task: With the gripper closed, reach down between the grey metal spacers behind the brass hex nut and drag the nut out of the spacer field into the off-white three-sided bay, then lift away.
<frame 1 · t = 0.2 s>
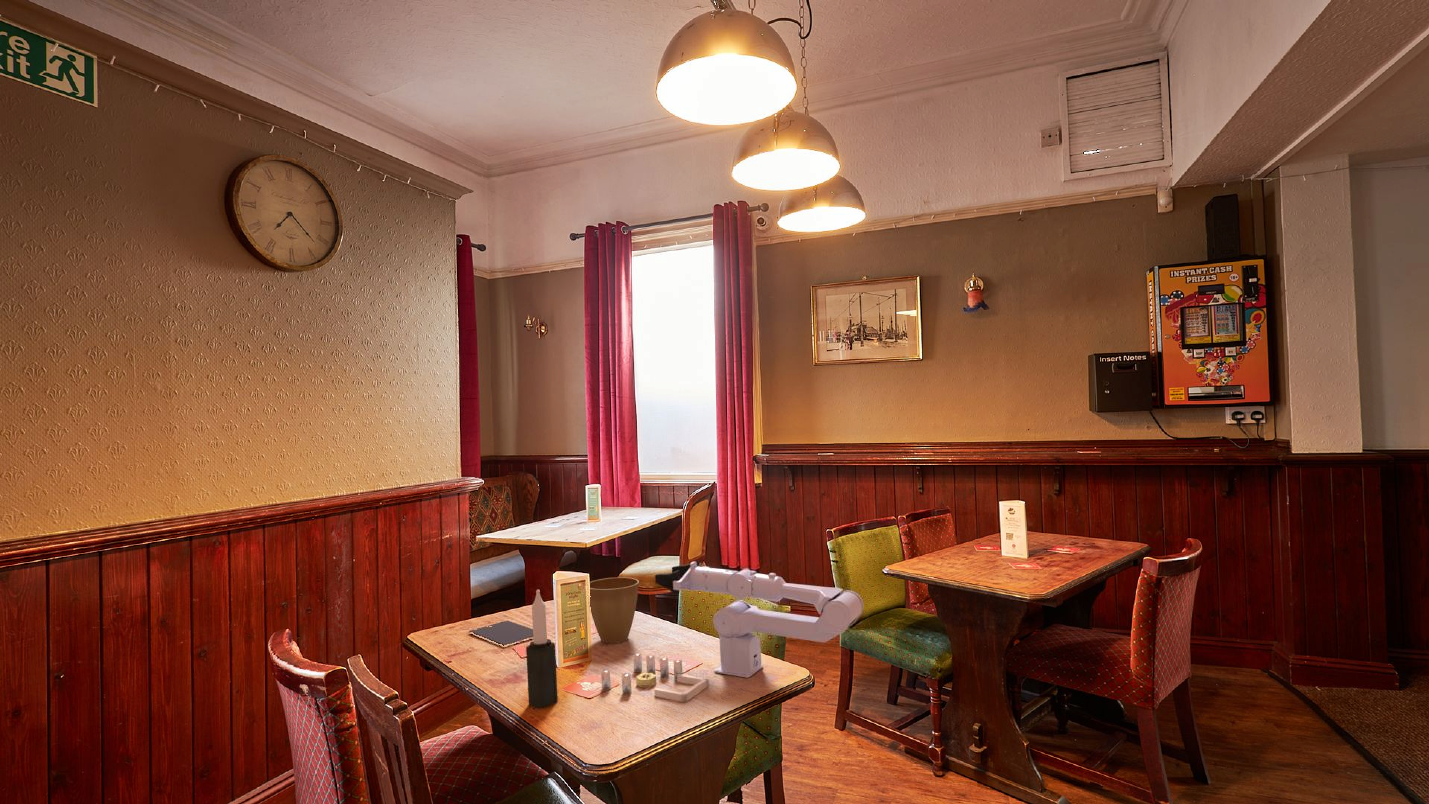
hand: (664, 574, 177), 22 cm above the table, tool horizontal, fingers open, 7 cm apart
notebook: (506, 637, 205), on the table
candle: (543, 703, 154), on the table
plant pot: (615, 640, 195), on the table
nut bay: (682, 690, 156), on the table
brass nut: (646, 684, 161), on the table
spacer field: (642, 683, 162), on the table
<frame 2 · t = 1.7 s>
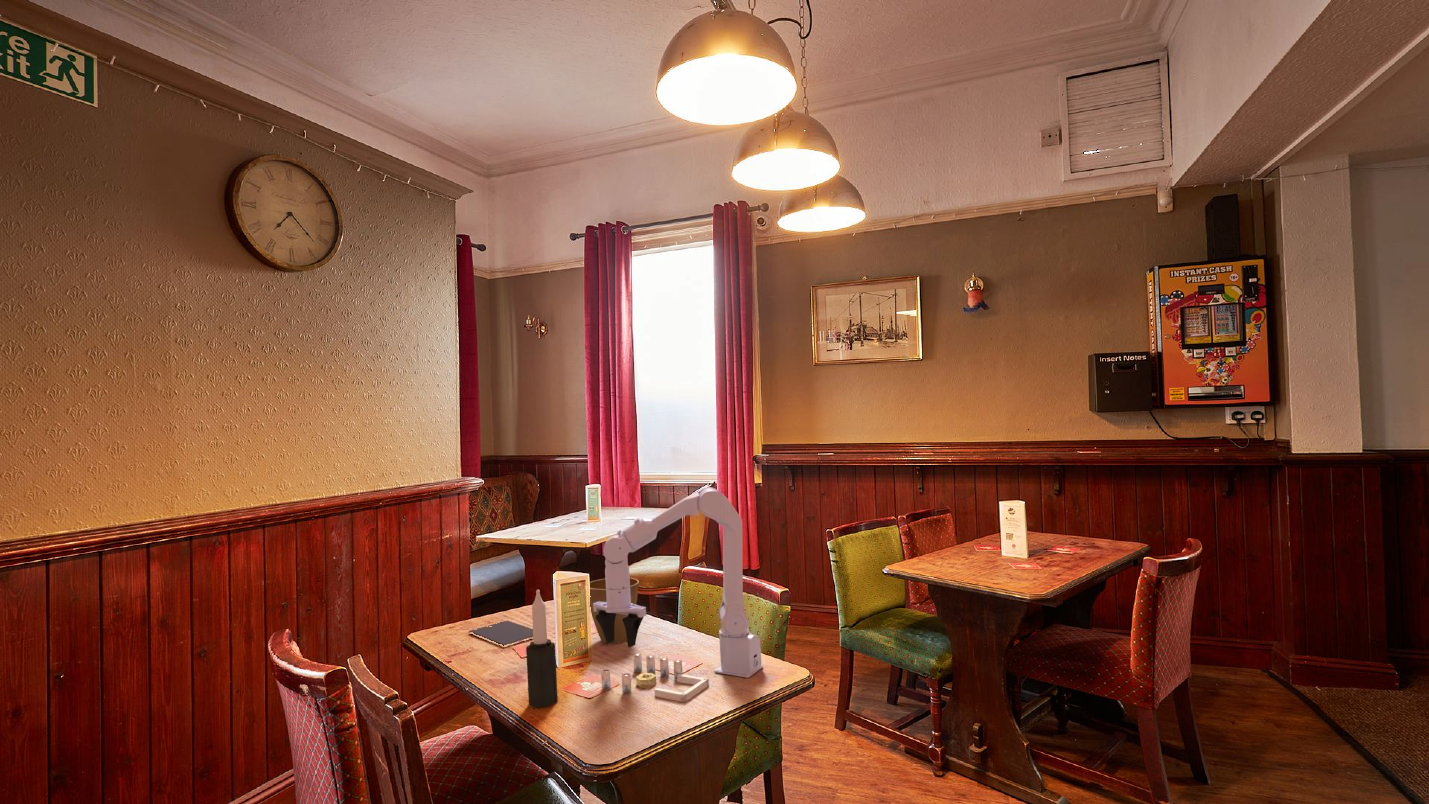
hand: (620, 644, 165), 8 cm above the table, tool pointing down, fingers open, 6 cm apart
nothing on the table moved.
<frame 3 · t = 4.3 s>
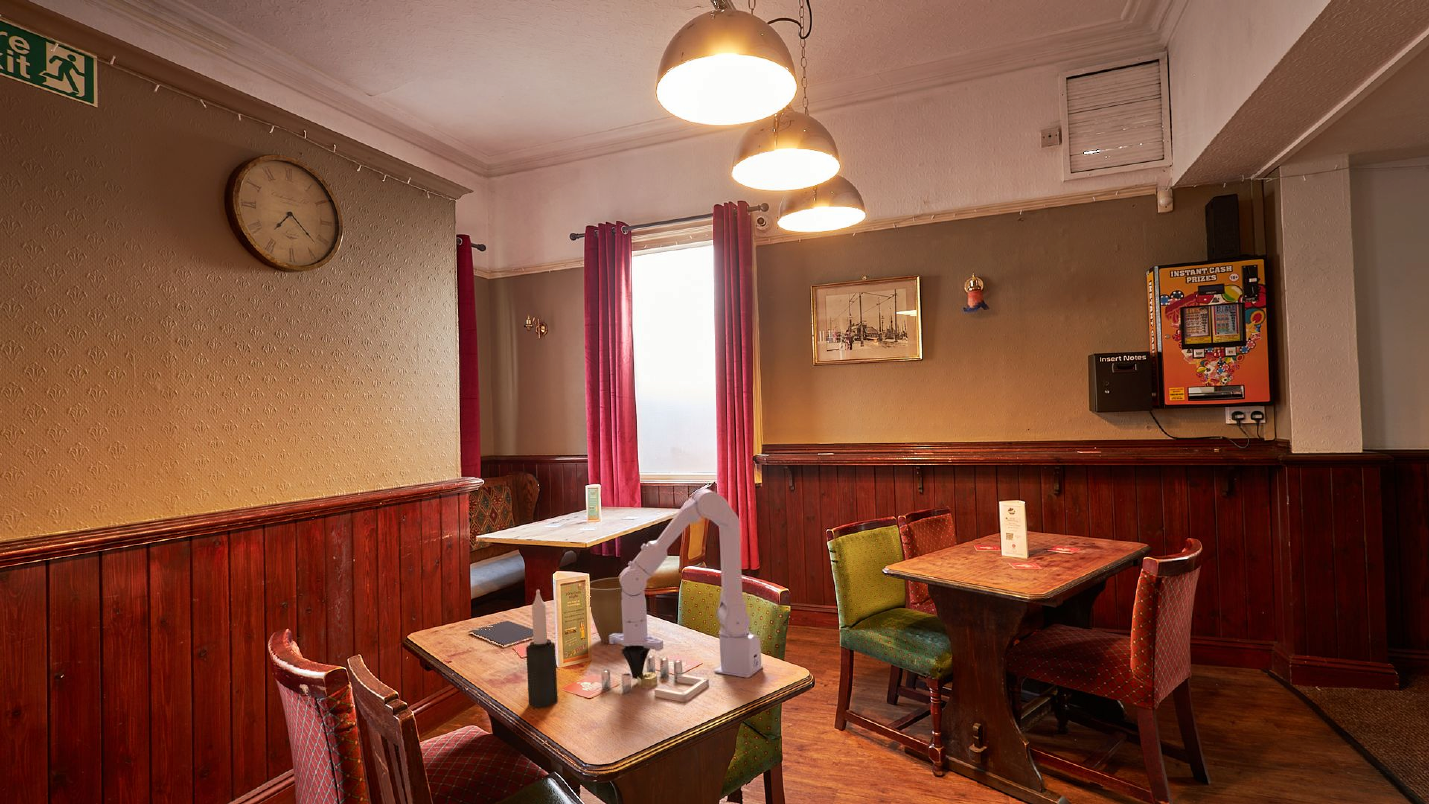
hand: (637, 677, 163), 1 cm above the table, tool pointing down, fingers closed
brass nut: (647, 684, 161), on the table, touching gripper
everything else where it was.
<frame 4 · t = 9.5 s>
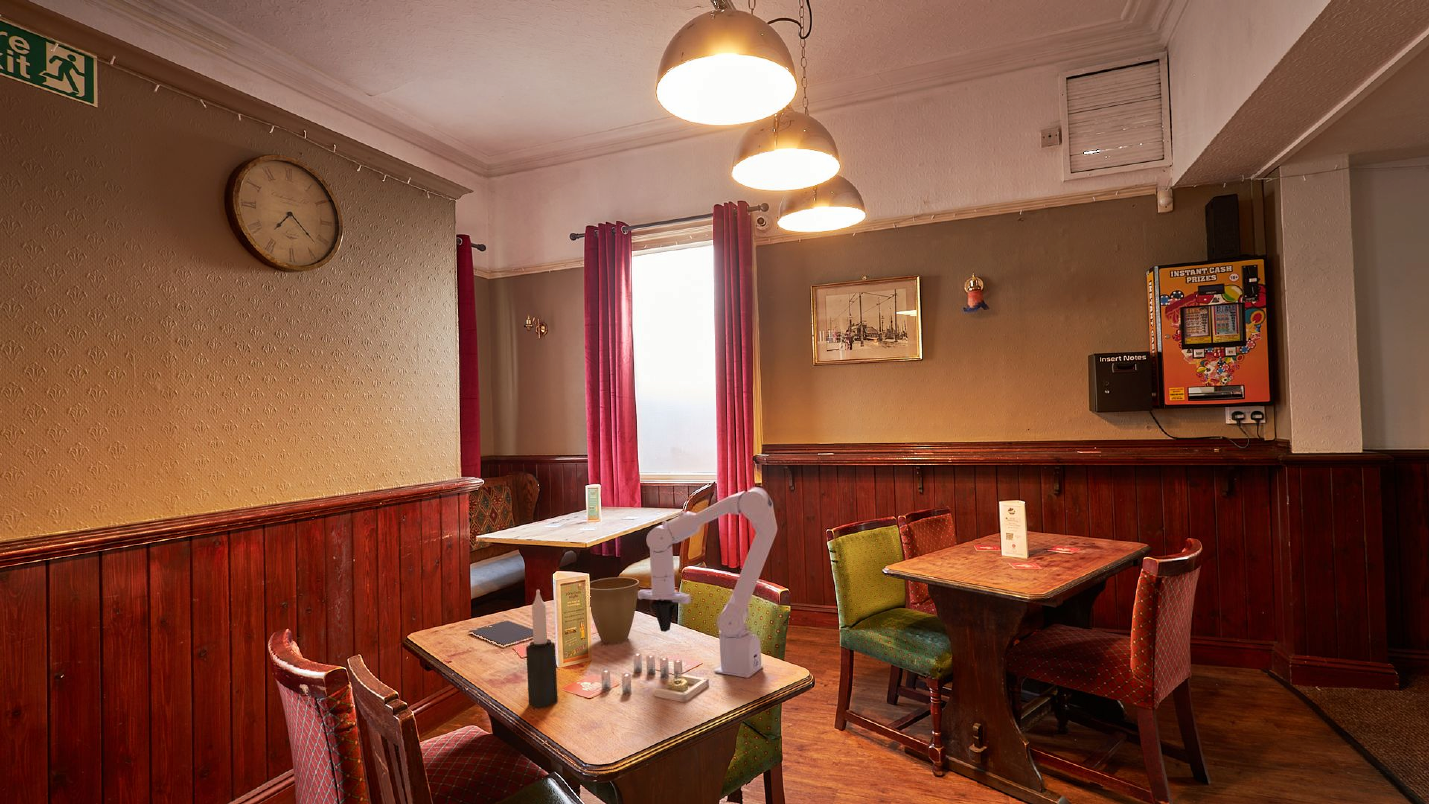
hand: (665, 630, 171), 9 cm above the table, tool pointing down, fingers closed
brass nut: (677, 691, 157), on the table
everything else where it was.
at the end: brass nut 0.2 cm from the target spot, on the table; brass nut moved 8.9 cm from its start; brass nut tilted 0° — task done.
